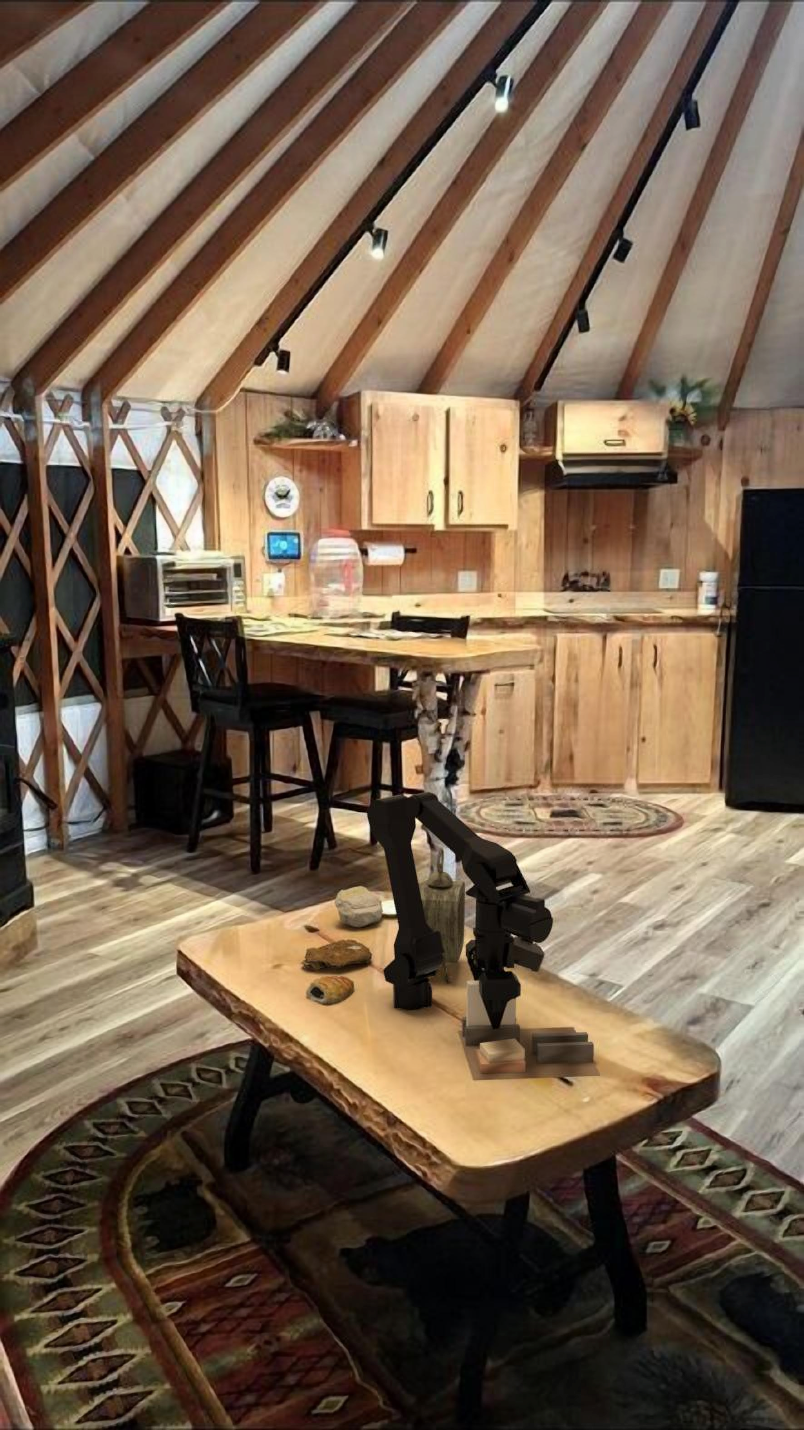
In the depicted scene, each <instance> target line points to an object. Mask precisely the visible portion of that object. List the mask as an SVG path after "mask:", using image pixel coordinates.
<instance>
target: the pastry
mask: <svg viewBox="0 0 804 1430" xmlns="http://www.w3.org/2000/svg"><path fill="white" fill-rule="evenodd" d="M354 990H355V981H354V980H351V979H350V978H348V977H347V976H344V975H341V976H337V975H333V976H332V975H331V976H321V977H320V978H316V979H313V981H312V982H310V984H309V986H308V987H307V989H306V990H305V995H306V996H307V998H308V997H310V998H309V1000H311V1001H313V1000H315V1001H314V1002H317V1001H319V1002H318V1003H320V1002H321V1004H323V1003H324V1004H325V1005H332V1004H331V1003H333V1004H336V1002H339V1001H341V1000H342V1001H343V1000H345V999H346V998H348V997H349V996H350V995H351V994H353V992H354ZM348 995H349V996H348ZM347 996H348V997H347ZM345 997H346V998H345ZM344 998H345V999H344ZM327 1003H328V1004H327Z"/></svg>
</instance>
